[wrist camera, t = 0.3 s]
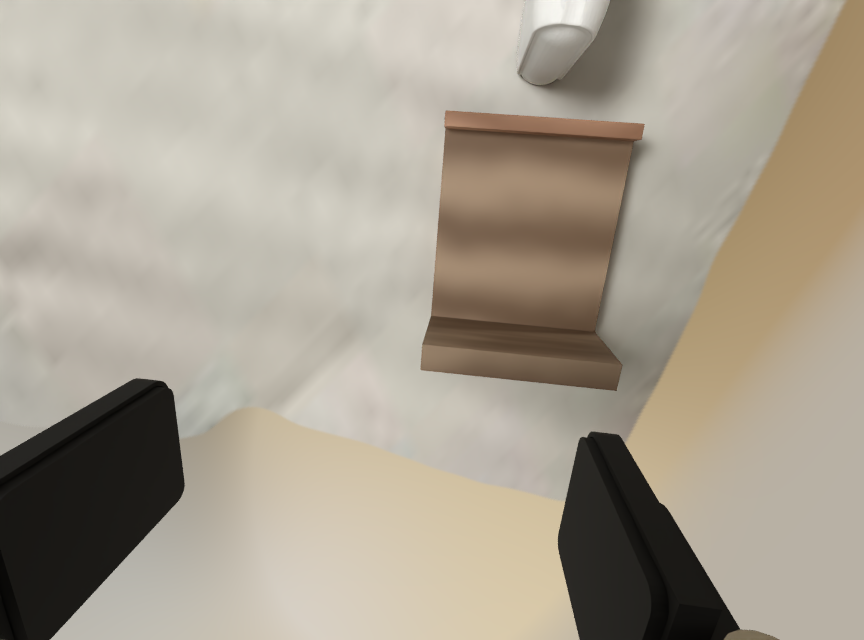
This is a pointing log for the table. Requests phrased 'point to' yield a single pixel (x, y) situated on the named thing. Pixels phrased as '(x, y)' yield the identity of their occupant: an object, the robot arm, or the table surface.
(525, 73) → the photo printer
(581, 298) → the cleat board
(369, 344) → the table surface
